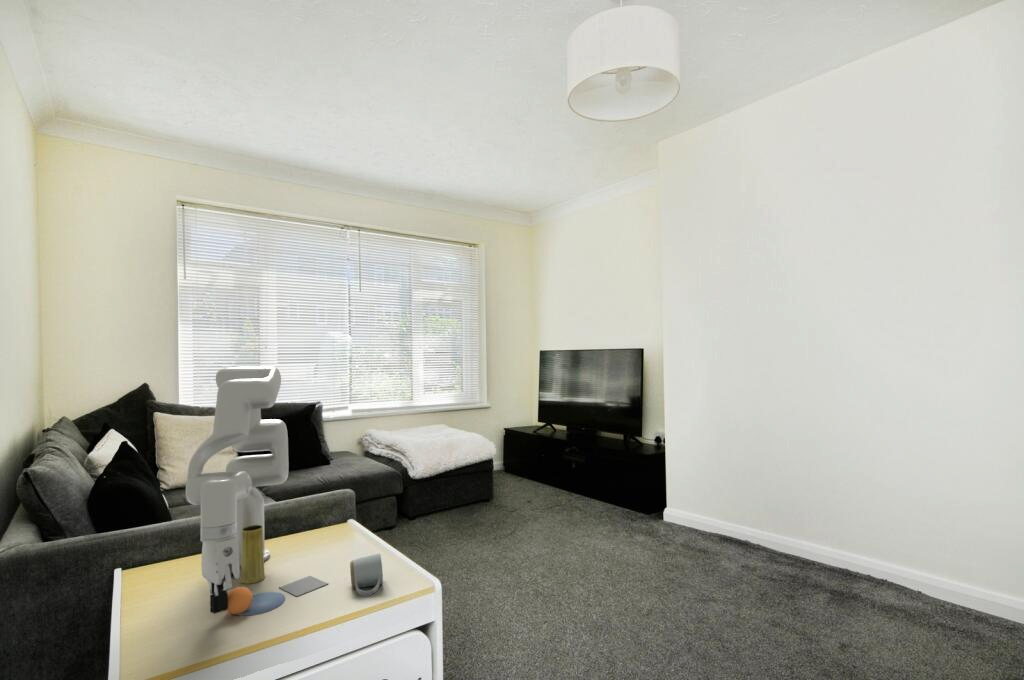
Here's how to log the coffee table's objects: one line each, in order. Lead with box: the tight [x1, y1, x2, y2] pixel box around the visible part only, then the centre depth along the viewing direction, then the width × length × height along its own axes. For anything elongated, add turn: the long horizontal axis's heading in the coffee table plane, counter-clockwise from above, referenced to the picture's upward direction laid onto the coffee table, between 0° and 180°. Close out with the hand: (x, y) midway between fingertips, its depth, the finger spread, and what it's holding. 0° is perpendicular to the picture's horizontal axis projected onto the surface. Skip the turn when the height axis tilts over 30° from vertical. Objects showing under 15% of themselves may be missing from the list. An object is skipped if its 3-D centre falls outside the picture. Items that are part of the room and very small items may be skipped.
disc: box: [236, 591, 286, 617], centre depth 130 cm, size 12×12×1 cm
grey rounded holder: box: [349, 553, 384, 596], centre depth 138 cm, size 11×8×8 cm
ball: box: [226, 586, 253, 615], centre depth 126 cm, size 6×6×6 cm
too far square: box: [278, 575, 329, 598], centre depth 140 cm, size 9×9×1 cm
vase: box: [239, 525, 266, 585], centre depth 145 cm, size 6×6×14 cm
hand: (219, 610), depth 122 cm, fingers closed
